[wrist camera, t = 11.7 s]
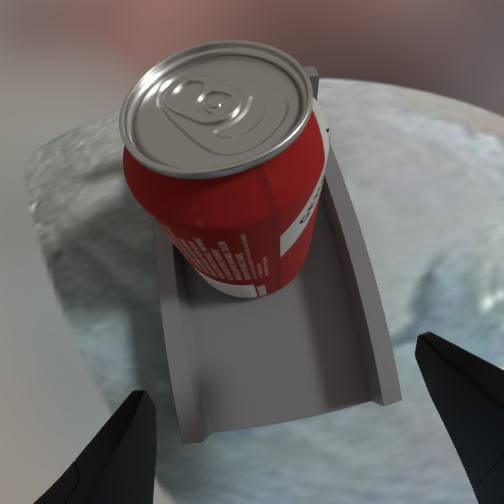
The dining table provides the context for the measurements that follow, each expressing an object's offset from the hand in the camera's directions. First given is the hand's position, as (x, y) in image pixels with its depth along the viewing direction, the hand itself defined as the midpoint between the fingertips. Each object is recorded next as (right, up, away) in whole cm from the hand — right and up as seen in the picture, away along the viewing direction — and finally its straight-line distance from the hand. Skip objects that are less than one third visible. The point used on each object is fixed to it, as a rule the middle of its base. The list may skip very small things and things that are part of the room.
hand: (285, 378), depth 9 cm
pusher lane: (0, +3, +10) cm, 11 cm away
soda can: (-1, +4, +10) cm, 11 cm away
